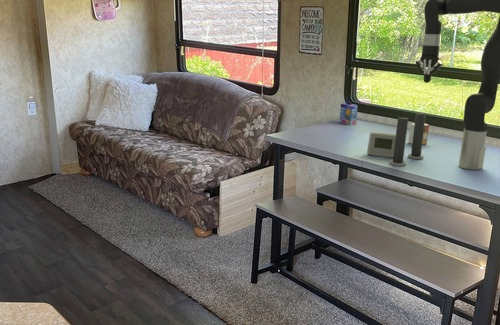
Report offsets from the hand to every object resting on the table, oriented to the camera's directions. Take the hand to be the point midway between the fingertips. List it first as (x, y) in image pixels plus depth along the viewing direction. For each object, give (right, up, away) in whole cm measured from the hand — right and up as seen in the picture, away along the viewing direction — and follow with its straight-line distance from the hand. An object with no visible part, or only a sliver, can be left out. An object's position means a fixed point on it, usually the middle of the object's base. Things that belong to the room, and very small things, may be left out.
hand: (426, 82), depth 231 cm
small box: (+6, -28, +32) cm, 43 cm away
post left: (-16, -38, -7) cm, 42 cm away
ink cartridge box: (-22, -13, +78) cm, 82 cm away
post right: (-4, -35, +4) cm, 36 cm away
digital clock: (-18, -35, +6) cm, 40 cm away
